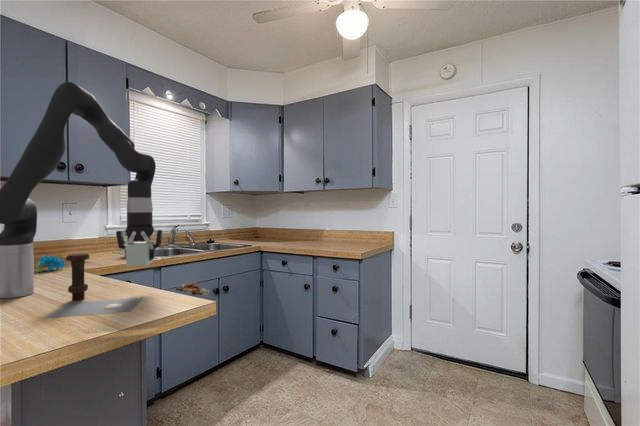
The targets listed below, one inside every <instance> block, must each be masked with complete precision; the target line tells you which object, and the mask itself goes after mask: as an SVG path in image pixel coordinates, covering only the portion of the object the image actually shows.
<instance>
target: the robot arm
mask: <svg viewBox="0 0 640 426" xmlns="http://www.w3.org/2000/svg"><path fill="white" fill-rule="evenodd" d="M72 114H73V115H74V116H78V117H80V118H81V119H82V120H85V121H86V122H87V123H89V124H90V125H91V126H92V127H93V128H94V130H95V131H96V132H97V135H98V137H99V138H100V139H101V141H102V142H103V143H104V145H106V146H107V147H108V148H109V149H110V150H111V152H113V153H114V155H115V157H116V159H117V160H118V162H119V164H120V165H121V166H122V167H123V168H124V169H125V170H127V171H128V172H131V173H135V177H134V179H133V180H132V179H131V180H129V181H128V182H127V189H126V190H127V201H126V229H124V230H123V229H122V230H120V229H119V230H116V231H115V233H116V235H115V236H116V241H117V246H118V249H121V250H123V251H124V250H125V258H124V259H125V260H126V245H125V243H124V236H125V233H127V235H128V236H129V237H130V238H129V240H128V242H127V244H132V243H134V242H135V241H143V242H146V243H149V248H150V250H149V260H153V261H154V259H155V256H156V252H155V251H156V249H157V248H160V247H161V246H162V245H161V244H162V239H163V233H164V231H163V230H162V229H155V228H154V227H153V224H154V223H153V210H154V208H153V202H152V185H153V182H154V178H155V173H156V167H157V166H156V162H155V159H154V157H153V156H152V155H151V154H149V153H145V152H141V151H137V150H136V148H135V147H136V146H135V143H134V141H133V140H132V138H130V137H129V135H127V134H126V133H125V131H123V130H122V129H121V127H119V126H118V125H117V124H116V123H115V122H114V121H113V120H112V119H111V117H110V116H108V114H107V113H106V112H105V111H104V109H103V107H102V106H101V105H100V103H99V102H98V100H97V99H96V98H95V96H94V95H93V94H92V93H90V92H89V91H87V90H86V89H84V88H83V87H81V86H79V85H78V84H76V83H74V82H72V81H66V82H63V83H61V84H59V85H58V86H57V88H56V89H55V90H54V93H53V94H52V95H51V98H50V101H49V103H48V106H47V108H46V111H45V113H44V115H43V117H42V119H41V121H40V123H39V125H38V127H37V129H36V131H35V132H34V134H33V135H32V137H31V139H30V140H29V142H28V144H27V146H26V147H25V149H24V151H23V152H22V154H21V157H20V159H19V160H18V161H17V163H16V165H15V166H14V168H13V169H12V172H11V173H10V175H9V177H8V178H7V180H6V182H5V183H4V184H3V186H2V187H1V188H0V225H3V224H4V225H3V229H2V231H1V232H0V299H13V298H20V297H25V296H29V295H32V294H34V293H35V283H34V282H35V269H34V268H35V264H34V259H35V258H34V257H35V256H34V238H35V237H36V234H37V227H38V223H37V222H38V209H37V206H36V203H35V202H34V201H33V200H32V199H31V198H29V197H30V195H31V194H32V192H33V190H34V189H35V188H36V186H38V185H40V183H41V182H42V181H44V180H45V179H46V178H47V177H48V176H50V175H51V174H52V173H53V172H54V171H55V170H56V168H57V167H58V166H59V164H60V162H61V160H62V158H63V156H64V154H65V152H66V125H67V123H68V121H69V118H70V117H71V115H72ZM153 234H154V235H155V237H156V240H155V244H154V241H153V239H152V235H153Z"/></svg>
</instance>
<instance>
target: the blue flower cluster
mask: <svg viewBox="0 0 640 426" xmlns="http://www.w3.org/2000/svg"><path fill="white" fill-rule="evenodd" d="M65 261H66V259H61V256H60V257H59V256H56V257H55V255H53V254H52V255H51V256H49V255H44V256H40V259H38V262H37V263H36V266H38V267H37V272H39V273H40V271H41V269H42V268H44V269H47V270H46V272H48V273H49V272H51V271H52V270H54V269H57V270H60V268H62V269H63V268H64V267H65V266H66V265H67V263H66V262H65Z"/></svg>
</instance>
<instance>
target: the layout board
mask: <svg viewBox="0 0 640 426" xmlns="http://www.w3.org/2000/svg"><path fill="white" fill-rule="evenodd" d="M143 299H144V297H134V298H133V297H129V298H116V299H115V298H113V299H103V300H102V299H101V300H99V299H98V300H88V301H87V300H86V301H71V302H68V303H66V304H65V305H63V306H61V307H59V308H58V309H56V310H54V311H53V312H52V313H50V314H48V315H46V316H45V317H43V319H51V318H52V319H53V318H65V317H78V316H92V315H106V314H116V313H117V314H118V313H128V312H129V313H130V312H132V311H133V310H134V309H135V308H136V307H137V305H139V303H140V302H141V301H143Z"/></svg>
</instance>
